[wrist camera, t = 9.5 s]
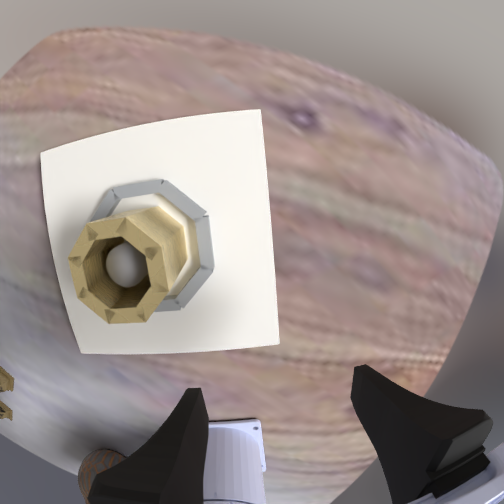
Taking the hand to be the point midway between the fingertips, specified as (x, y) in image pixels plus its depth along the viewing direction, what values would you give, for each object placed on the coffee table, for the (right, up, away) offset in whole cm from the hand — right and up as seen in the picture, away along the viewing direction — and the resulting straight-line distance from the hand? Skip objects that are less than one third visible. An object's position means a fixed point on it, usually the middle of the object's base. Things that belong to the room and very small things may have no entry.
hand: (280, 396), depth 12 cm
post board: (-8, +7, +7) cm, 13 cm away
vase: (-18, -18, +13) cm, 29 cm away
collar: (-8, +7, +6) cm, 12 cm away
